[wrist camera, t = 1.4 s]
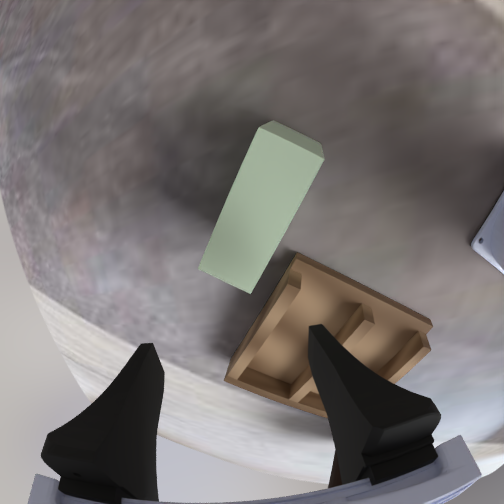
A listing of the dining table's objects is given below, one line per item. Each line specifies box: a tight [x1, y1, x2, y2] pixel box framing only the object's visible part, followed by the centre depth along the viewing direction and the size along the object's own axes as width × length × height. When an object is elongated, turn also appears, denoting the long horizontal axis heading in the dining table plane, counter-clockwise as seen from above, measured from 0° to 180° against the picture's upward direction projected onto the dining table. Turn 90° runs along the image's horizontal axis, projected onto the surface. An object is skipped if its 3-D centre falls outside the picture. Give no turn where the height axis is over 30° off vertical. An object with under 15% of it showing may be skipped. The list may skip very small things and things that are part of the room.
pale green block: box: [198, 120, 324, 294], centre depth 19 cm, size 9×4×6 cm, turn 156°
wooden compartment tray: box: [224, 252, 433, 418], centre depth 26 cm, size 14×14×3 cm
